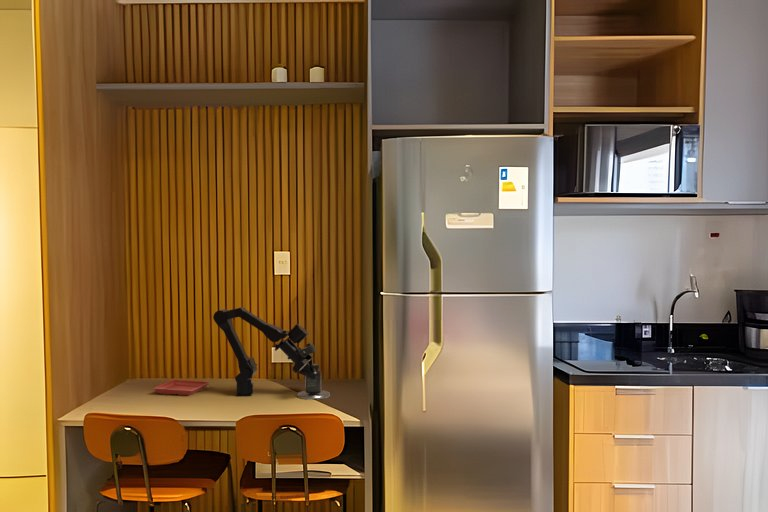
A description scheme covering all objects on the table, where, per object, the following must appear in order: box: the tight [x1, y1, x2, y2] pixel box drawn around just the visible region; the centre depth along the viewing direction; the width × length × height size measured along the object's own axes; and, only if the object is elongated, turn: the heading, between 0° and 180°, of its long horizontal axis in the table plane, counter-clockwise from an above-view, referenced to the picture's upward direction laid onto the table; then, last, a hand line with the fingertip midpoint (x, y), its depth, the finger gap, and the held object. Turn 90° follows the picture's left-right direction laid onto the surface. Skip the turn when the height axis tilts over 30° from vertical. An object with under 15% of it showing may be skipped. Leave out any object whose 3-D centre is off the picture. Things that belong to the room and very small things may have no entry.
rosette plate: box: [297, 389, 331, 400], centre depth 283 cm, size 14×14×1 cm
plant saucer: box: [153, 379, 210, 396], centre depth 291 cm, size 18×18×3 cm
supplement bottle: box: [304, 363, 322, 394], centre depth 283 cm, size 7×7×12 cm
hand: (316, 376), depth 283 cm, fingers closed on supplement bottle, 7 cm apart
